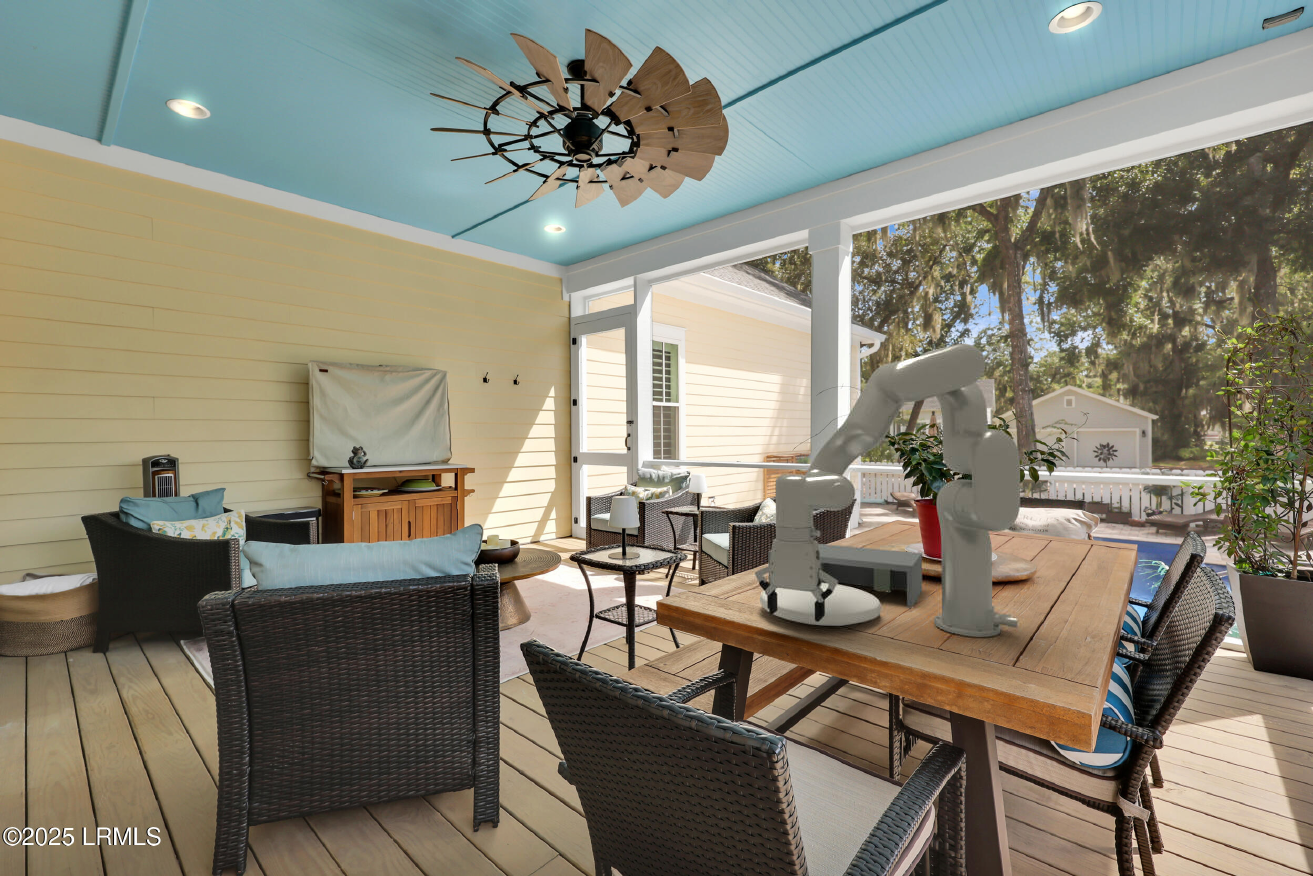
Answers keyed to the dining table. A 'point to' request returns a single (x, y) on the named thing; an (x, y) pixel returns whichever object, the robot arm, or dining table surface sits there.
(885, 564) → the shelf
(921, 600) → the dining table surface
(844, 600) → the plate
